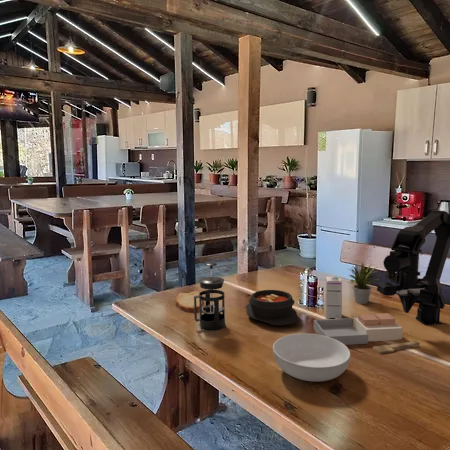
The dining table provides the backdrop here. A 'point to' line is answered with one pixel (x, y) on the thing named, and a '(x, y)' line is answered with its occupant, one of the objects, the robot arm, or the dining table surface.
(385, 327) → the white flat box
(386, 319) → the tile
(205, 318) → the french press
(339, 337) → the tray
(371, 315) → the tile
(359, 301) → the house plant
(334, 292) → the syrup box
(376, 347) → the wooden spatula
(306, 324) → the dining table surface
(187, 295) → the bread slice
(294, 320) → the casserole
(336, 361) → the serving bowl
